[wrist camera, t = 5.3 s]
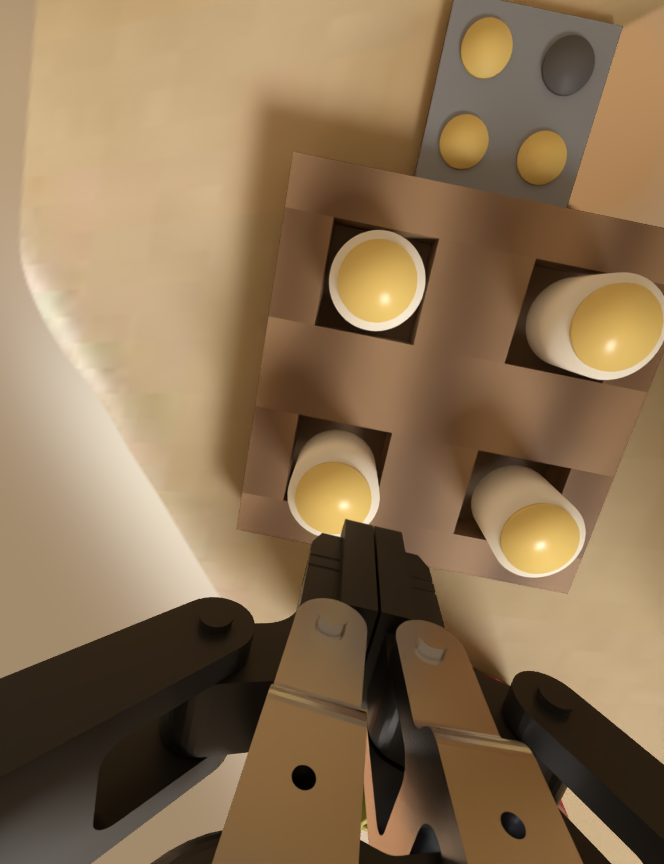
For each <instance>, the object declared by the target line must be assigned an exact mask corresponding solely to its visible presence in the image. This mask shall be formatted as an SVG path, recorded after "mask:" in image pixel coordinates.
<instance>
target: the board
mask: <svg viewBox="0 0 664 864" xmlns="http://www.w3.org/2000/svg"><path fill="white" fill-rule="evenodd" d="M372 230H385V231H390V232H394V233H396V234H398V235H400V236H402V237H404V238H405V239H406V240H408V241H409V242H410V243H411V244H412V245H413V246H414V247H415V249H416V250H417V252H418V253H419V255H420V257H421V259H422V262H423V265H424V269H425V289H424V293H423V296H422V299H421V301H420V304H419V305H418V307H417V309H416V310H415V311H414V313H413V314H412V315H411V316H410V317H409V318H408V319H407V320H405V321H404V322H403V323H401V324H400V325H398V326H396V327H393V328H391V329H387V330H382V331H369V330H364V329H361V328H358V327H356V326H354V325H352V324H351V323H349V322H348V321H347V320H345V319H344V318H343V317H342V315H341V314H340V313H339V312H338V310H337V309H336V307H335V305H334V303H333V301H332V298H331V294H330V289H329V275H330V270H331V266H332V263H333V260H334V258H335V257H336V255H337V253H338V252H339V250H340V249H341V248H342V247H343V245H344V244H345V243H347V242H348V241H349V240H350V239H352V238H353V237H355V236H356V235H359V234H361V233H364V232H367V231H372ZM618 272H627V273H634V274H638V275H641V276H643V277H645V278H647V279H649V280H650V281H652V282H653V283H654V284H655V285H656V286H657V287H658V288H659V289H660V291H661V292H662V294H663V296H664V228H662V227H657V226H652V225H647V224H642V223H637V222H633V221H628V220H622V219H617V218H613V217H608V216H603V215H599V214H594V213H589V212H584V211H579V210H574V209H569V208H565V207H560V206H555V205H550V204H545V203H540V202H536V201H531V200H526V199H521V198H516V197H511V196H506V195H502V194H497V193H492V192H487V191H482V190H477V189H472V188H468V187H463V186H458V185H453V184H448V183H443V182H439V181H434V180H429V179H424V178H419V177H414V176H409V175H405V174H400V173H395V172H390V171H385V170H380V169H375V168H371V167H366V166H361V165H356V164H351V163H346V162H341V161H337V160H332V159H327V158H322V157H317V156H312V155H308V154H303V153H298V152H293V156H292V163H291V170H290V176H289V183H288V190H287V196H286V203H285V210H284V216H283V223H282V229H281V236H280V243H279V249H278V256H277V263H276V269H275V276H274V283H273V289H272V296H271V303H270V309H269V316H268V323H267V329H266V336H265V343H264V349H263V356H262V363H261V369H260V376H259V383H258V389H257V396H256V403H255V409H254V416H253V423H252V429H251V436H250V443H249V449H248V456H247V463H246V469H245V476H244V483H243V489H242V496H241V503H240V509H239V516H238V523H237V530H242V531H248V532H253V533H258V534H263V535H268V536H273V537H278V538H283V539H289V540H294V541H299V542H304V543H309V544H312V541H313V540H314V539H316V538H317V537H318V536H317V535H315V534H312V533H311V532H309V531H307V530H306V529H304V528H303V527H302V526H301V525H300V524H299V523H298V522H297V521H296V519H295V518H294V516H293V515H292V513H291V510H290V508H289V504H288V495H287V494H288V487H289V483H290V480H291V477H292V474H293V471H294V468H295V465H296V462H297V459H298V456H299V454H300V451H301V449H302V448H303V446H304V445H305V444H306V442H307V441H309V440H310V439H311V438H312V437H313V436H315V435H317V434H319V433H321V432H324V431H328V430H343V431H347V432H350V433H353V434H355V435H357V436H359V437H360V438H361V439H363V440H364V441H365V442H366V443H367V445H368V446H369V447H370V449H371V451H372V453H373V455H374V458H375V463H376V471H377V478H378V485H379V493H380V501H379V507H378V510H377V512H376V515H375V517H374V518H373V520H372V521H371V522H370V523H369V525H372V526H373V527H374V526H378V527H382V528H387V529H391V530H395V531H399V532H402V535H403V541H404V546H405V551H406V552H407V553H411V554H416V555H418V556H419V557H420V558H421V559H422V560H423V562H424V563H425V564H426V565H427V566H428V567H432V568H437V569H442V570H447V571H453V572H458V573H463V574H468V575H473V576H478V577H483V578H488V579H494V580H499V581H504V582H509V583H514V584H519V585H524V586H530V587H535V588H540V589H545V590H550V591H555V592H560V593H565V594H568V592H569V590H570V587H571V585H572V582H573V579H574V577H575V574H576V572H577V569H578V567H579V564H580V562H581V559H582V557H583V554H584V552H585V549H586V547H587V544H588V542H589V539H590V537H591V534H592V531H593V529H594V526H595V524H596V521H597V519H598V516H599V514H600V511H601V509H602V506H603V504H604V501H605V499H606V496H607V494H608V491H609V489H610V486H611V483H612V481H613V478H614V476H615V473H616V471H617V468H618V466H619V463H620V461H621V458H622V456H623V453H624V451H625V448H626V446H627V443H628V441H629V438H630V435H631V433H632V430H633V428H634V425H635V423H636V420H637V418H638V415H639V413H640V410H641V408H642V405H643V403H644V400H645V398H646V395H647V393H648V390H649V387H650V385H651V382H652V380H653V377H654V375H655V372H656V370H657V367H658V365H659V362H660V360H661V357H662V355H663V352H664V341H663V343H662V345H661V347H660V348H659V350H658V352H657V353H656V354H655V355H654V357H653V358H652V359H651V360H650V361H649V362H648V363H647V364H646V365H644V366H643V367H642V368H640V369H639V370H637V371H636V372H634V373H632V374H630V375H628V376H625V377H622V378H618V379H612V380H599V379H593V378H590V377H587V376H584V375H581V374H578V373H575V372H572V371H569V370H566V369H563V368H560V367H557V366H554V365H551V364H548V363H546V362H544V361H543V360H541V359H540V358H539V357H537V356H536V354H535V353H534V352H533V351H532V349H531V348H530V346H529V343H528V340H527V337H526V319H527V315H528V312H529V309H530V307H531V305H532V303H533V302H534V300H535V299H536V297H537V296H538V295H539V294H540V293H541V292H542V291H543V290H544V289H545V288H546V287H548V286H549V285H551V284H552V283H554V282H556V281H559V280H561V279H564V278H569V277H577V276H587V275H597V274H608V273H618ZM511 465H518V466H524V467H528V468H530V469H533V470H534V471H536V472H538V473H539V474H540V475H541V476H542V477H543V478H544V479H546V480H547V481H548V482H549V483H550V484H551V485H552V486H553V487H554V488H555V489H556V490H557V491H558V492H559V493H560V494H561V495H563V496H564V497H565V498H566V499H567V500H568V501H569V502H570V503H571V504H572V505H573V506H574V507H575V508H576V509H577V510H578V511H579V513H580V514H581V516H582V518H583V520H584V524H585V530H586V536H585V541H584V544H583V547H582V549H581V551H580V553H579V555H578V556H577V557H576V558H575V560H574V561H573V562H572V563H571V564H570V565H568V566H567V567H566V568H564V569H563V570H561V571H559V572H557V573H555V574H552V575H549V576H544V577H536V578H534V577H524V576H520V575H517V574H514V573H512V572H510V571H508V570H507V569H506V568H504V567H503V566H502V565H501V564H500V563H499V561H498V560H497V558H496V556H495V555H494V553H493V551H492V549H491V547H490V546H489V544H488V542H487V540H486V538H485V537H484V535H483V533H482V531H481V529H480V528H479V526H478V524H477V522H476V520H475V519H474V516H473V514H472V509H471V499H472V495H473V492H474V490H475V488H476V486H477V484H478V483H479V482H480V481H481V479H482V478H483V477H485V476H486V475H487V474H488V473H490V472H492V471H493V470H495V469H498V468H501V467H504V466H511Z"/></svg>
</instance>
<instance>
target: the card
mask: <svg viewBox="0 0 664 864" xmlns="http://www.w3.org/2000/svg"><path fill="white" fill-rule="evenodd" d="M622 28H623V26H620V25H615V24H610V23H606V22H601V21H596V20H592V19H587V18H582V17H577V16H573V15H568V14H563V13H558V12H554V11H549V10H544V9H540V8H535V7H530V6H525V5H521V4H516V3H511V2H507V1H502V0H453V3H452V8H451V12H450V17H449V21H448V26H447V31H446V35H445V40H444V44H443V49H442V53H441V58H440V62H439V67H438V72H437V76H436V81H435V85H434V90H433V94H432V99H431V104H430V108H429V113H428V117H427V122H426V126H425V131H424V135H423V140H422V145H421V149H420V154H419V158H418V163H417V167H416V172H415V176H414V177H419V178H424V179H429V180H434V181H439V182H443V183H448V184H453V185H458V186H463V187H468V188H472V189H477V190H482V191H487V192H492V193H497V194H502V195H506V196H511V197H516V198H521V199H526V200H531V201H536V202H540V203H545V204H550V205H555V206H560V207H565V208H567V205H568V202H569V199H570V196H571V192H572V189H573V186H574V183H575V180H576V176H577V173H578V170H579V167H580V163H581V160H582V156H583V154H584V150H585V147H586V144H587V140H588V137H589V134H590V131H591V128H592V125H593V121H594V118H595V115H596V111H597V108H598V105H599V102H600V99H601V95H602V92H603V89H604V86H605V83H606V79H607V76H608V73H609V70H610V66H611V63H612V59H613V57H614V53H615V50H616V47H617V44H618V40H619V37H620V34H621V31H622Z"/></svg>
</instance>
